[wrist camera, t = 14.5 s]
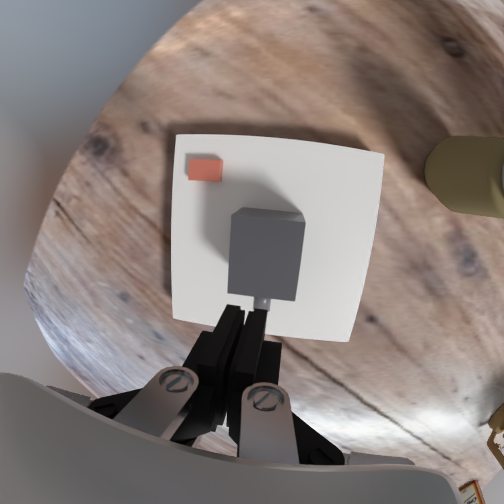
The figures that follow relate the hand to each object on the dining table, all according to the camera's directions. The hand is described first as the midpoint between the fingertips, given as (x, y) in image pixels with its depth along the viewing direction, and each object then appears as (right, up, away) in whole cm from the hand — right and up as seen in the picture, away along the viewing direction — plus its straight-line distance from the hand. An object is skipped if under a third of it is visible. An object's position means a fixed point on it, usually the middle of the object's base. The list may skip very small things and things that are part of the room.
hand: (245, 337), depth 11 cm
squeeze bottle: (+22, +13, +13) cm, 29 cm away
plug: (+2, +4, +18) cm, 19 cm away
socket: (+2, +5, +18) cm, 19 cm away
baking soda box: (+88, -92, +34) cm, 131 cm away
